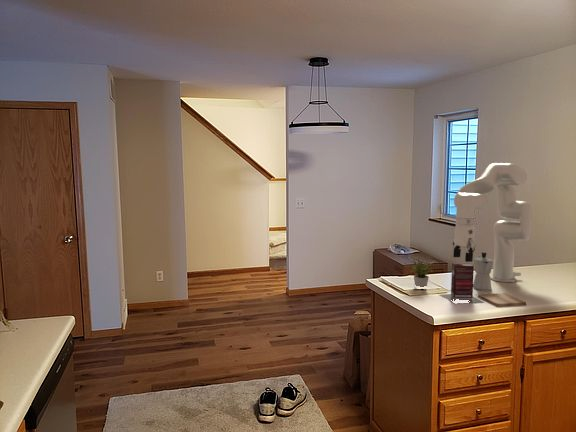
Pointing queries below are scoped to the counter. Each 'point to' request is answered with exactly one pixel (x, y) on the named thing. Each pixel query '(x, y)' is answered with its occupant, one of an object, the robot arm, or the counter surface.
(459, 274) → the supplement box
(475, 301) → the plate
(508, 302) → the walnut board
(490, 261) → the coffee maker
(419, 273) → the house plant
